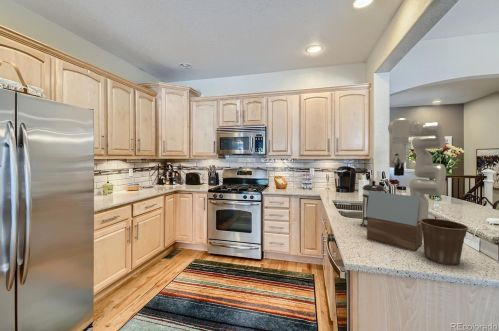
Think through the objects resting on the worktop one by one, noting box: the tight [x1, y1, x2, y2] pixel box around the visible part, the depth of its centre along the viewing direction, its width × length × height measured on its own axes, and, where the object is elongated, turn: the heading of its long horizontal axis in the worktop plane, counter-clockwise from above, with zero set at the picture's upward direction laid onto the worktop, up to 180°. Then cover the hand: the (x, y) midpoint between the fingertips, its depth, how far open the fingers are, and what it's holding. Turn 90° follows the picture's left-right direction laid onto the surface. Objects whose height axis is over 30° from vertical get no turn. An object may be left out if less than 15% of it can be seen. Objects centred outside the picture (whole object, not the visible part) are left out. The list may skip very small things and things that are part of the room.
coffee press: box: [360, 180, 386, 227], centre depth 149 cm, size 17×16×30 cm
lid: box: [366, 191, 420, 226], centre depth 118 cm, size 14×23×1 cm
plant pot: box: [420, 217, 469, 266], centre depth 101 cm, size 16×16×16 cm
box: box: [366, 217, 423, 252], centre depth 122 cm, size 14×22×12 cm, turn 42°
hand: (398, 175), depth 125 cm, fingers open, 4 cm apart
